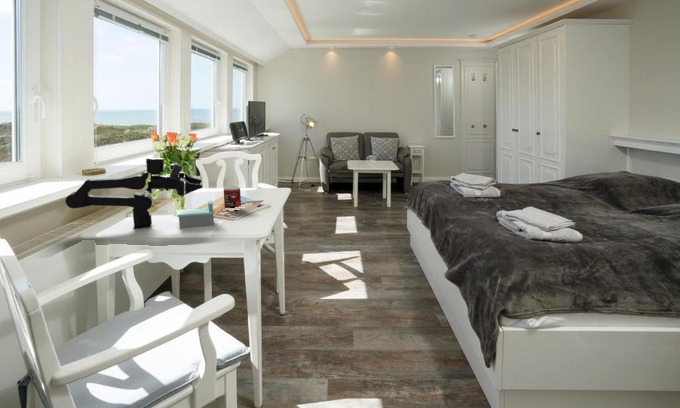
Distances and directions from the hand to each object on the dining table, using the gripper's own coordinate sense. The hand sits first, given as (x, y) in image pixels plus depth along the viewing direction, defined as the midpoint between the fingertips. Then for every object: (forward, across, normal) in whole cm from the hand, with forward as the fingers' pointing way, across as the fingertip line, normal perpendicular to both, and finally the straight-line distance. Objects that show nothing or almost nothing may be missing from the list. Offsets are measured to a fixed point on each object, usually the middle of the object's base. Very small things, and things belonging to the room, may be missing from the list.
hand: (201, 183), depth 207 cm
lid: (-2, -5, +12) cm, 14 cm away
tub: (-2, -6, +17) cm, 18 cm away
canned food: (+16, +19, +18) cm, 30 cm away
